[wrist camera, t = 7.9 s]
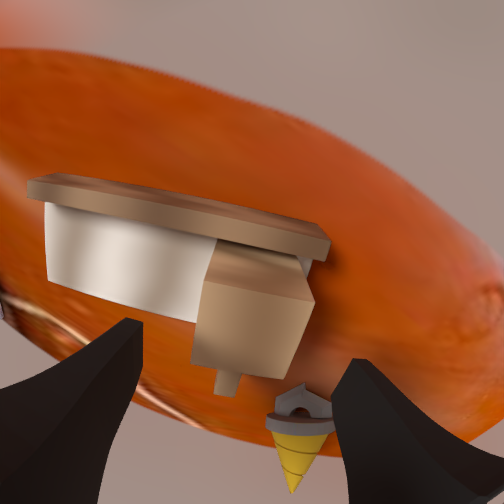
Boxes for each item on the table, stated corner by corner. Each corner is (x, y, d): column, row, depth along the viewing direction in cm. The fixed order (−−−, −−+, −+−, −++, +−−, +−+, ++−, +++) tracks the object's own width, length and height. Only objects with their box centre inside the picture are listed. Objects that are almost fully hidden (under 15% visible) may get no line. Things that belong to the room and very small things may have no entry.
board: (57, 273, 16) (33, 292, 13) (57, 172, 14) (27, 180, 11) (282, 328, 18) (287, 359, 15) (317, 224, 15) (331, 241, 12)
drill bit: (346, 381, 20) (332, 487, 16) (286, 379, 23) (275, 478, 19) (330, 385, 16) (312, 512, 12) (257, 380, 19) (244, 497, 15)
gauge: (196, 357, 17) (182, 418, 12) (218, 236, 14) (203, 280, 10) (257, 369, 17) (258, 430, 13) (295, 252, 15) (315, 302, 10)
